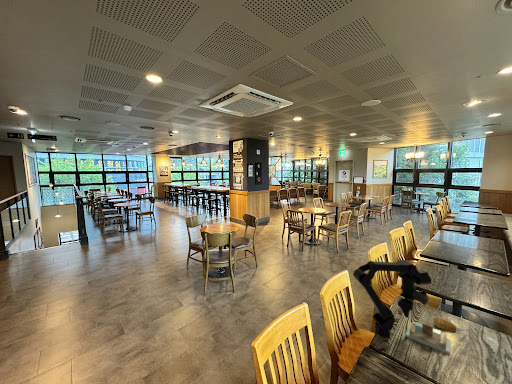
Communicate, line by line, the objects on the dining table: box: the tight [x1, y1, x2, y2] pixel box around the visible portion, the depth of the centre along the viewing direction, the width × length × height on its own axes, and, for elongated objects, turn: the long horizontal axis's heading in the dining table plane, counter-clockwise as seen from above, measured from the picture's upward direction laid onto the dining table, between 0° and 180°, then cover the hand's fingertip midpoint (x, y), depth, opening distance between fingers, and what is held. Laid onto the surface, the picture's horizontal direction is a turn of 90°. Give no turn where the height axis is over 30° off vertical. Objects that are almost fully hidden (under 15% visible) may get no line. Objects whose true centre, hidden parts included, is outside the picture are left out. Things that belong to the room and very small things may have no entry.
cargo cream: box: [433, 327, 442, 340], centre depth 104 cm, size 3×3×3 cm
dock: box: [405, 324, 451, 355], centre depth 107 cm, size 17×10×2 cm, turn 45°
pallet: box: [410, 320, 448, 349], centre depth 106 cm, size 14×7×7 cm, turn 45°
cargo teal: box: [414, 321, 422, 333], centre depth 109 cm, size 3×3×3 cm
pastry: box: [433, 317, 457, 332], centre depth 116 cm, size 9×7×4 cm
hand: (408, 312), depth 112 cm, fingers open, 9 cm apart
